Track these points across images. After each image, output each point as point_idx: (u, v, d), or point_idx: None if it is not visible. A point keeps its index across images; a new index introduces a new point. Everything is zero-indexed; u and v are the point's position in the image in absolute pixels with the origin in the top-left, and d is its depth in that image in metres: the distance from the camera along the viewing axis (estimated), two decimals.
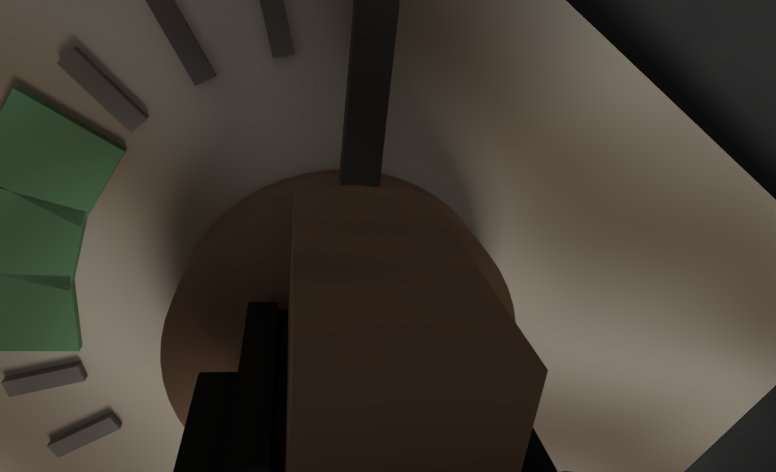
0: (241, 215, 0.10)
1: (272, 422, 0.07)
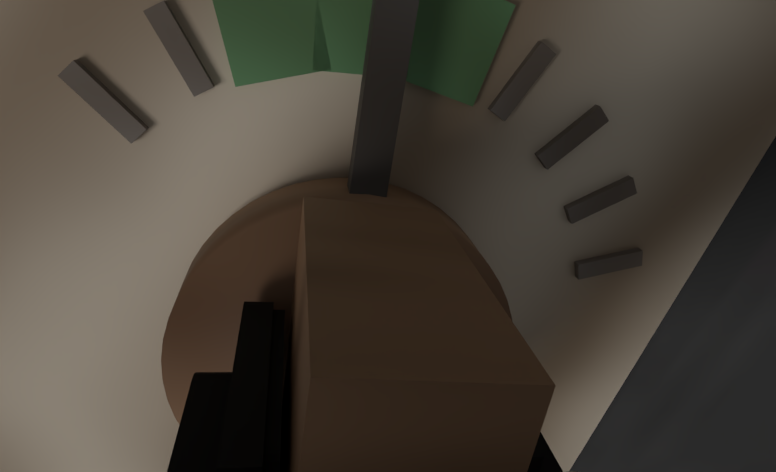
0: (249, 219, 0.10)
1: (265, 422, 0.07)
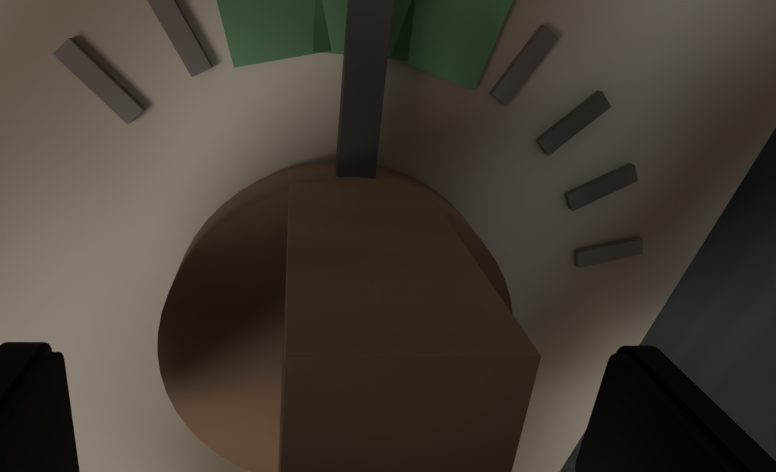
0: (237, 208, 0.10)
1: None
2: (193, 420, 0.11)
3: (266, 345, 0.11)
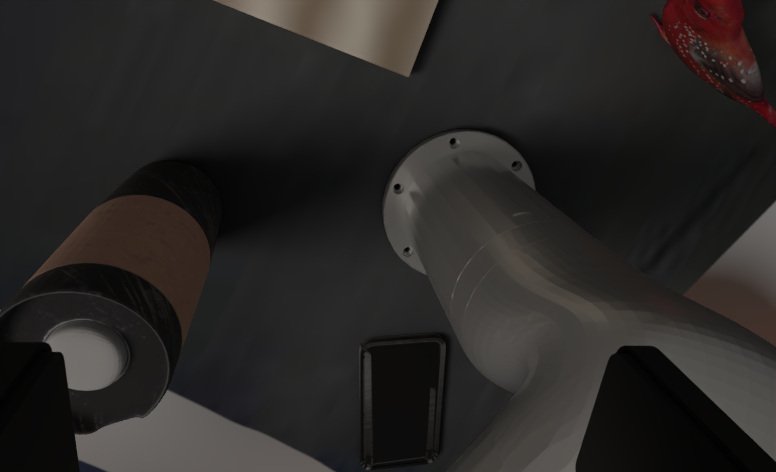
0: None
1: None
2: None
3: None
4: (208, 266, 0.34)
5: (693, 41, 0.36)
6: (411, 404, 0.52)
